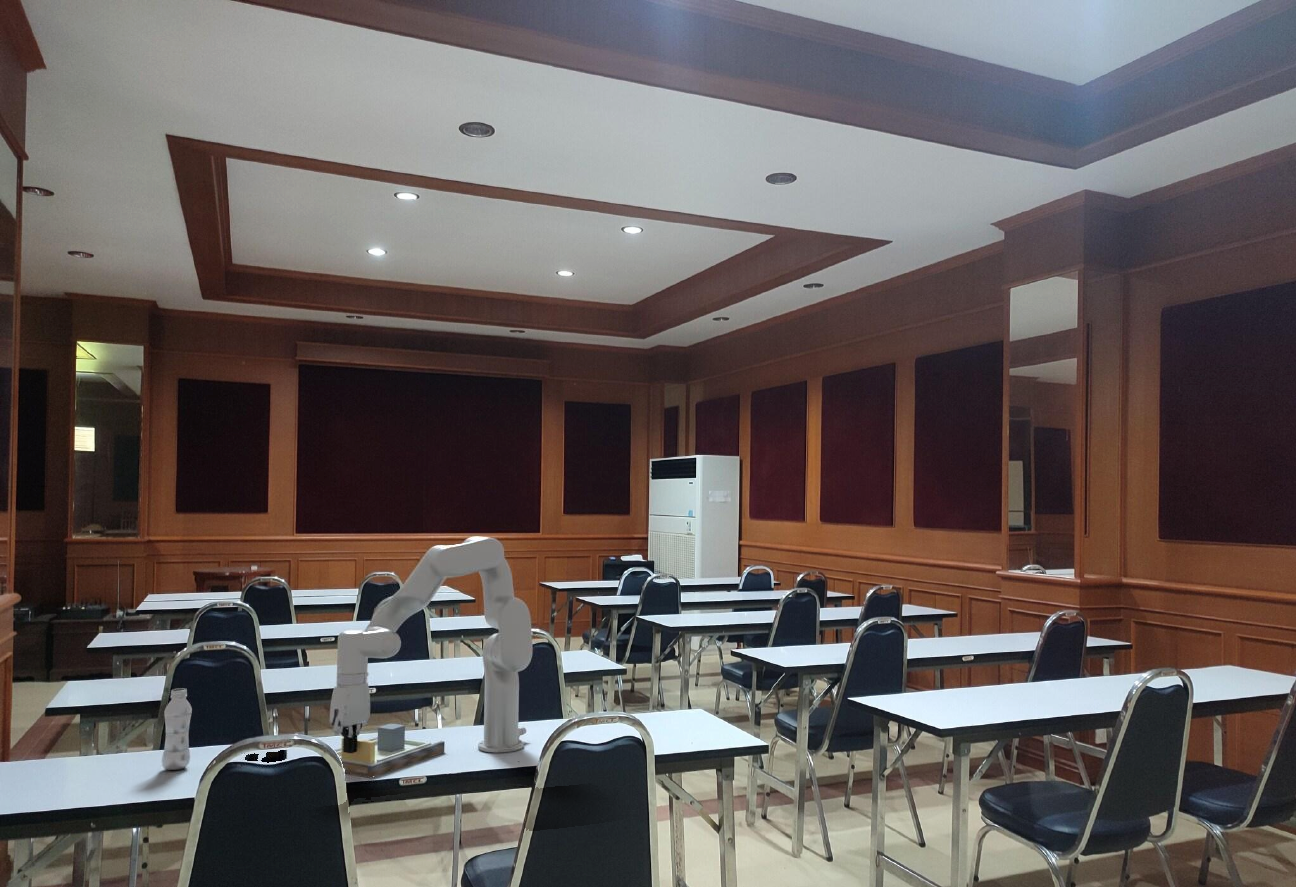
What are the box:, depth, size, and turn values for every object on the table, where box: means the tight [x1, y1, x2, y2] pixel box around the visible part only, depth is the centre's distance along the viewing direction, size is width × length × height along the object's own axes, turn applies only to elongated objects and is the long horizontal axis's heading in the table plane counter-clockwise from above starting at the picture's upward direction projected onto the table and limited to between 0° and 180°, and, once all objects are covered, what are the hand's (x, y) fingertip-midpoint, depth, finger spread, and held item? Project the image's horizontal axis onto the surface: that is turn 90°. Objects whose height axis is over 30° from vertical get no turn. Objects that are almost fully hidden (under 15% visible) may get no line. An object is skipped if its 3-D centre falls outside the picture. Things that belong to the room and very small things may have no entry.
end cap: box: [245, 749, 288, 763], centre depth 233 cm, size 10×7×7 cm
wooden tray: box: [337, 737, 432, 766], centre depth 244 cm, size 20×16×6 cm
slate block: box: [377, 723, 406, 752], centre depth 247 cm, size 5×5×6 cm
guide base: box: [334, 736, 446, 779], centre depth 243 cm, size 28×20×3 cm
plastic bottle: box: [161, 687, 193, 771], centre depth 234 cm, size 6×7×20 cm
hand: (350, 751), depth 233 cm, fingers closed
